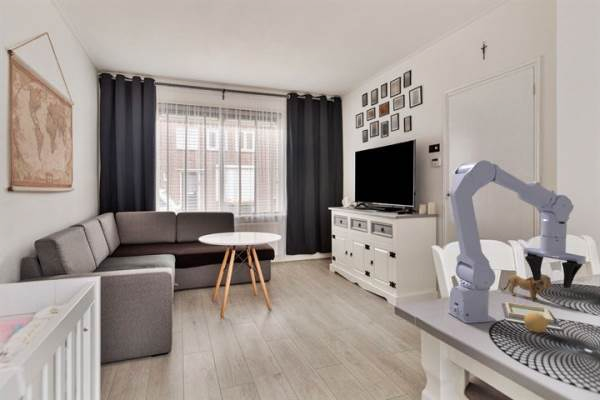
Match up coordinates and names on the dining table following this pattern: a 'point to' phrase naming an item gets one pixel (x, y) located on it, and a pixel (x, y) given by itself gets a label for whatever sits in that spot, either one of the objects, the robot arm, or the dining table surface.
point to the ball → (535, 322)
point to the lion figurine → (529, 285)
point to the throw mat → (519, 311)
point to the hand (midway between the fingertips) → (551, 283)
